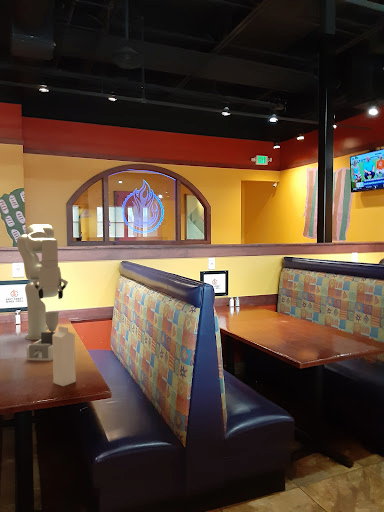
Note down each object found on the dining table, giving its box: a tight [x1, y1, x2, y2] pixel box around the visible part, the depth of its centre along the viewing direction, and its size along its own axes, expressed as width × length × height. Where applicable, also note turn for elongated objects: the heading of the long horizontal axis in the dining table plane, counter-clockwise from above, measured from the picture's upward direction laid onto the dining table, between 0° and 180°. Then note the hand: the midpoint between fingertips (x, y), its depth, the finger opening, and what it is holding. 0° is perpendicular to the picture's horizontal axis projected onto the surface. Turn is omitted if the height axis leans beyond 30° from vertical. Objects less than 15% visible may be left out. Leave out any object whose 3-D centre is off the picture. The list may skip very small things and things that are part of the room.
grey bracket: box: [26, 339, 53, 362], centre depth 199 cm, size 21×11×7 cm, turn 175°
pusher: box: [33, 331, 57, 355], centre depth 192 cm, size 17×8×9 cm, turn 175°
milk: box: [52, 325, 77, 387], centre depth 159 cm, size 6×6×22 cm
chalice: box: [44, 310, 60, 332], centre depth 203 cm, size 7×7×18 cm
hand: (50, 298), depth 202 cm, fingers open, 9 cm apart
